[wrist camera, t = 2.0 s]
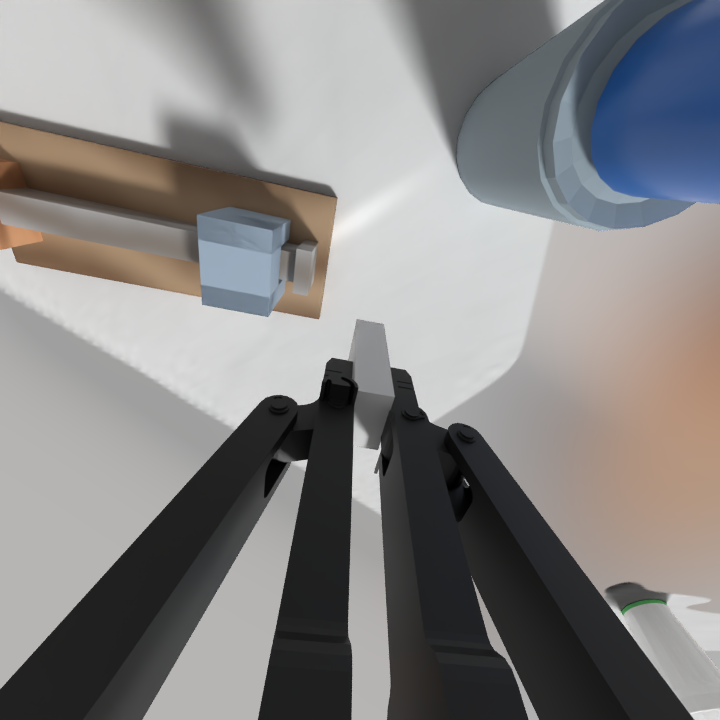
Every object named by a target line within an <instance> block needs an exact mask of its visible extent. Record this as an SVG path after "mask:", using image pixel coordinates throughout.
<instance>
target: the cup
mask: <svg viewBox="0 0 720 720" xmlns="http://www.w3.org/2000/svg"><path fill="white" fill-rule="evenodd" d="M622 614H623V616H624V618H625V620H626V622H627V624H628V626H629V628H630V630H631V632H632V635H633V637H634V639H635V641H636V643H637V644H638V645H639V647H640V648H641V649H642V651H643V652H644V653H645V655H646V656H647V657H648V659H649V660H650V661H651V663H652V664H653V665H654V667H655V668H656V669H657V671H658V672H659V673H660V675H661V676H662V677H663V679H664V680H665V681H666V683H667V684H668V685H669V687H670V688H671V689H672V691H673V692H674V693H675V695H676V696H677V697H678V699H679V700H680V701H681V703H682V704H683V705H684V707H685V708H686V709H687V711H688V712H689V713H690V715H691V716H692V717H693V719H694V720H720V670H719V669H718V668H717V667H716V665H715V664H714V663H713V662H712V661H711V659H710V658H709V657H708V656H707V654H706V653H705V652H704V651H703V650H702V648H701V647H700V646H699V645H698V643H697V642H696V641H695V640H694V639H693V637H692V636H691V635H690V634H689V632H688V631H687V630H686V629H685V628H684V626H683V625H682V624H681V623H680V621H679V620H678V619H677V618H676V617H675V615H674V614H673V613H672V612H671V610H670V609H669V607H668V606H667V604H666V603H665V602H663V601H661V600H653V599H652V600H642V601H638V602H635V603H632V604H630V605H628V606H626V607H625V608H624V609H623V611H622Z"/></svg>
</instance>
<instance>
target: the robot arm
mask: <svg viewBox="0 0 720 720" xmlns="http://www.w3.org/2000/svg"><path fill="white" fill-rule="evenodd" d="M380 442H381V452H380V455H379V458H378V461H377V464H376V468H375V472H374V473H376V474H377V472H378V469H379V478H380V496H381V514H382V532H383V548H384V549H383V550H384V568H385V586H386V605H387V620H388V621H387V622H388V641H389V659H390V675H391V676H390V677H391V689H390V698H389V705H388V715H387V716H388V717H387V720H528V717H527V713H526V710H525V707H524V704H523V700H522V697H521V694H520V691H519V687H518V684H517V682H516V679H515V677H514V674H513V671H512V669H511V667H510V666H509V665H508V663H507V661H506V659H505V658H504V657H502V656H501V655H500V654H498V653H497V652H496V651H495V650H494V649H493V647H492V646H491V644H490V641H489V639H488V636H487V632H486V628H485V625H484V621H483V618H482V614H481V611H480V607H479V603H478V599H477V596H476V592H475V588H474V585H473V581H472V578H473V580H474V582H475V584H476V587H477V589H478V591H479V593H480V595H481V597H482V599H483V601H484V603H485V605H486V608H487V610H488V612H489V614H490V616H491V618H492V620H493V622H494V625H495V627H496V629H497V631H498V633H499V635H500V637H501V639H502V642H503V644H504V646H505V647H506V650H507V652H508V654H509V656H510V659H511V660H512V663H513V665H514V667H515V669H516V671H517V673H518V675H519V678H520V680H521V682H522V684H523V686H524V688H525V690H526V692H527V694H528V696H529V699H530V701H531V703H532V705H533V707H534V709H535V711H536V713H537V716H538V718H539V720H694V719H693V717H692V716H691V715H690V713H689V712H688V711H687V709H686V708H685V707H684V705H683V704H682V703H681V701H680V700H679V699H678V697H677V696H676V695H675V693H674V692H673V691H672V689H671V688H670V687H669V685H668V684H667V683H666V681H665V680H664V679H663V677H662V676H661V675H660V673H659V672H658V671H657V669H656V668H655V667H654V665H653V664H652V663H651V661H650V660H649V659H648V657H647V656H646V655H645V653H644V652H643V651H642V649H641V648H640V647H639V645H638V644H637V643H636V641H635V640H634V639H633V637H632V636H631V635H630V633H629V632H628V631H627V629H626V628H625V627H624V625H623V624H622V623H621V621H620V620H619V619H618V617H617V616H616V615H615V613H614V612H613V611H612V609H611V608H610V607H609V605H608V604H607V603H606V601H605V600H604V599H603V597H602V596H601V595H600V593H599V592H598V590H597V589H596V588H595V586H594V585H593V584H592V583H591V581H590V580H589V578H588V577H587V576H586V575H585V573H584V572H583V571H582V569H581V568H580V567H579V565H578V564H577V562H576V561H575V560H574V558H573V557H572V556H571V554H570V553H569V552H568V550H567V549H566V548H565V546H564V545H563V544H562V543H561V541H560V540H559V538H558V537H557V536H556V534H555V533H554V532H553V530H552V529H551V528H550V526H549V525H548V524H547V523H546V521H545V520H544V519H543V517H542V516H541V514H540V513H539V512H538V511H537V509H536V508H535V506H534V505H533V504H532V502H531V501H530V500H529V498H528V497H527V496H526V494H525V493H524V492H523V490H522V489H521V488H520V486H519V485H518V484H517V482H516V481H515V480H514V479H513V477H512V476H511V475H510V473H509V472H508V470H507V469H506V468H505V466H504V465H503V464H502V462H501V461H500V460H499V458H498V457H497V456H496V454H495V453H494V452H493V450H492V449H491V448H490V446H489V445H488V444H487V442H486V441H485V440H484V438H483V437H482V436H481V434H479V432H478V431H477V430H475V429H474V428H472V427H470V426H468V425H465V424H460V423H455V424H452V425H450V426H449V428H448V430H447V429H444V428H442V427H439V426H436V425H434V424H432V423H430V422H429V420H428V417H427V415H426V413H425V412H424V411H423V410H422V409H421V408H419V407H418V403H417V399H416V395H415V391H414V387H413V383H412V379H411V376H410V375H409V374H408V373H407V371H406V370H402V369H397V368H391V367H390V362H389V355H388V349H387V342H386V335H385V329H384V324H380V323H375V322H369V321H364V320H359V319H357V321H356V326H355V331H354V335H353V340H352V345H351V350H350V354H349V359H348V361H347V360H341V359H335V358H331V359H330V360H329V361H328V362H327V363H326V369H325V374H324V379H323V381H322V386H321V392H320V397H319V399H318V400H317V401H315V402H313V403H311V404H307V405H297V403H296V402H295V401H294V400H293V399H292V398H289V397H287V396H282V395H274V396H270V397H267V398H265V399H264V400H262V401H261V402H260V403H259V405H258V406H257V407H256V408H255V409H254V410H253V411H252V412H251V413H250V414H249V416H248V417H247V418H246V419H245V420H244V421H243V422H242V423H241V424H240V425H239V427H238V428H237V429H236V430H235V431H234V432H233V433H232V434H231V435H230V437H229V438H228V439H227V440H226V441H225V442H224V443H223V444H222V445H221V447H220V448H219V449H218V450H217V451H216V452H215V453H214V454H213V455H212V456H211V457H210V459H209V460H208V461H207V462H206V463H205V464H204V465H203V467H201V469H200V470H199V471H198V472H197V473H196V474H195V475H194V476H193V477H192V478H191V480H190V481H189V482H188V483H187V484H186V485H185V486H184V487H183V488H182V490H181V491H180V492H179V493H178V494H177V495H176V496H175V497H174V498H173V499H172V501H171V502H170V503H169V504H168V505H167V506H166V507H165V508H164V509H163V510H162V512H161V513H160V514H159V515H158V516H157V517H156V518H155V519H154V520H153V521H152V523H151V524H150V525H149V526H148V527H147V528H146V529H145V530H144V531H143V533H142V534H141V535H140V536H139V537H138V538H137V539H136V540H135V541H134V542H133V544H132V545H131V546H130V547H129V548H128V549H127V550H126V551H125V553H123V555H122V556H121V557H120V558H119V559H118V560H117V561H116V562H115V563H114V565H113V566H112V567H111V568H110V569H109V570H108V571H107V572H106V573H105V574H104V576H103V577H102V578H101V579H100V580H99V581H98V582H97V584H95V585H94V587H93V588H92V589H91V590H90V591H89V592H88V593H87V594H86V596H85V597H84V598H83V599H82V600H81V601H80V602H79V603H78V604H77V605H76V606H75V608H74V609H73V610H72V611H71V612H70V613H69V614H68V615H67V616H66V618H65V619H64V620H63V621H62V622H61V623H60V624H59V625H58V626H57V628H56V629H55V630H54V631H53V632H52V633H51V634H50V635H49V636H48V637H47V638H46V640H45V641H44V642H43V643H42V644H41V645H40V646H39V647H38V648H37V649H36V651H35V652H34V653H33V654H32V655H31V656H30V657H29V658H28V659H27V661H26V662H25V663H24V664H23V665H22V666H21V667H20V668H19V669H18V670H17V672H16V673H15V674H14V675H13V676H12V677H11V678H10V679H9V680H8V682H7V683H6V684H5V685H4V686H3V687H2V688H1V689H0V720H142V719H143V717H144V716H145V714H146V712H147V711H148V709H149V707H150V705H151V704H152V702H153V700H154V698H155V697H156V695H157V693H158V692H159V690H160V688H161V686H162V685H163V683H164V681H165V680H166V678H167V676H168V674H169V672H170V671H171V669H172V668H173V666H174V664H175V662H176V661H177V659H178V657H179V655H180V653H181V652H182V650H183V648H184V647H185V645H186V643H187V642H188V640H189V638H190V637H191V635H192V633H193V631H194V630H195V628H196V626H197V625H198V623H199V621H200V619H201V618H202V616H203V614H204V612H205V611H206V609H207V607H208V606H209V604H210V602H211V600H212V599H213V597H214V595H215V594H216V592H217V590H218V588H219V587H220V585H221V583H222V581H223V580H224V578H225V576H226V574H227V573H228V571H229V569H230V568H231V566H232V564H233V563H234V561H235V559H236V557H237V556H238V554H239V552H240V551H241V549H242V547H243V545H244V544H245V542H246V540H247V538H248V537H249V535H250V533H251V532H252V530H253V528H254V526H255V524H256V523H257V521H258V520H259V518H260V516H261V514H262V512H263V511H264V509H265V508H266V506H267V504H268V502H269V501H270V499H271V497H272V495H273V494H274V492H275V490H276V489H277V487H278V485H279V483H280V482H281V480H282V478H283V477H284V475H285V473H286V471H287V470H288V468H289V466H290V464H291V462H292V461H299V460H307V459H308V462H307V467H306V472H305V478H304V483H303V488H302V493H301V499H300V504H299V509H298V515H297V520H296V525H295V530H294V536H293V541H292V546H291V551H290V557H289V562H288V568H287V572H286V578H285V583H284V589H283V594H282V599H281V604H280V610H279V615H278V620H277V625H276V631H275V635H274V639H273V645H272V649H271V654H270V659H269V665H268V670H267V675H266V680H265V686H264V691H263V696H262V701H261V706H260V712H259V717H258V720H351V708H352V703H351V702H352V650H351V643H350V640H349V638H348V601H349V568H350V567H349V566H350V534H351V500H352V466H353V446H355V447H362V448H369V449H376V450H378V448H379V445H380ZM464 479H466V481H467V482H468V483H469V486H468V485H467V484H466V482H465V480H464ZM471 576H472V577H471Z"/></svg>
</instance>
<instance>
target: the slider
mask: <svg viewBox="0 0 720 720" xmlns="http://www.w3.org/2000/svg"><path fill="white" fill-rule="evenodd" d="M290 222H291V220H290V219H285V218H281V217H276V216H272V215H267V214H262V213H258V212H253V211H249V210H244V209H239V208H235V207H226V208H222V209H217V210H213V211H209V212H205V213H201V214H197V229H198V246H199V262H200V278H201V295H202V305H207V306H212V307H218V308H223V309H228V310H234V311H239V312H244V313H250V314H255V315H260V316H266V317H268V316H269V315H270V313H271V312H272V310H273V309H274V307H275V306H276V304H277V303H278V301H279V300H280V298H281V297H282V295H283V294H284V292H285V283H286V280H280V279H279V270H280V256H281V246H282V245H283V244H284V243H285V242H287V241H288V240H289V234H290Z"/></svg>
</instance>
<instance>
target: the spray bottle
mask: <svg viewBox="0 0 720 720" xmlns="http://www.w3.org/2000/svg"><path fill="white" fill-rule="evenodd" d="M456 160H457V164H458V169H459V174H460V178H461V180H462V181H463V183H464V185H465V186H466V188H467V190H468V191H469V193H470V194H472V195H473V196H474V197H476V198H477V199H478V200H479V201H481V202H483V203H486V204H490V205H493V206H497V207H501V208H505V209H510V210H514V211H518V212H522V213H526V214H530V215H535V216H539V217H543V218H547V219H551V220H556V221H560V222H564V223H568V224H572V225H576V226H581V227H585V228H589V229H593V230H597V231H605V230H618V229H629V228H635V227H645V226H647V225H650V224H653V223H655V222H658V221H661V220H664V219H666V218H669V217H672V216H675V215H677V214H679V213H680V212H682V211H683V210H685V209H687V208H688V207H690V206H691V205H693V204H694V203H696V202H702V203H715V204H720V0H605V1H603V2H602V3H600V4H599V5H598V6H596V7H595V8H594V9H592V10H591V11H589V12H588V13H587V14H585V15H584V16H582V17H581V18H580V19H578V20H577V21H576V22H574V23H573V24H571V25H570V26H569V27H567V28H566V29H564V30H563V31H562V32H560V33H559V34H558V35H556V36H555V37H553V38H552V39H551V40H549V41H548V42H546V43H545V44H544V45H542V46H541V47H540V48H538V49H537V50H535V51H534V52H533V53H531V54H530V55H528V56H527V57H526V58H524V59H523V60H522V61H520V62H519V63H517V64H516V65H515V66H513V67H512V68H510V69H509V70H508V71H506V72H505V73H504V74H502V75H501V76H499V77H498V78H497V79H495V80H494V81H493V82H492V83H491V84H490V85H489V86H488V87H487V88H486V89H485V90H484V91H482V92H481V93H480V94H479V95H478V96H477V98H476V99H475V101H474V103H473V104H472V106H471V107H470V109H469V111H468V112H467V114H466V115H465V118H464V121H463V124H462V127H461V130H460V133H459V136H458V143H457V157H456Z"/></svg>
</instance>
